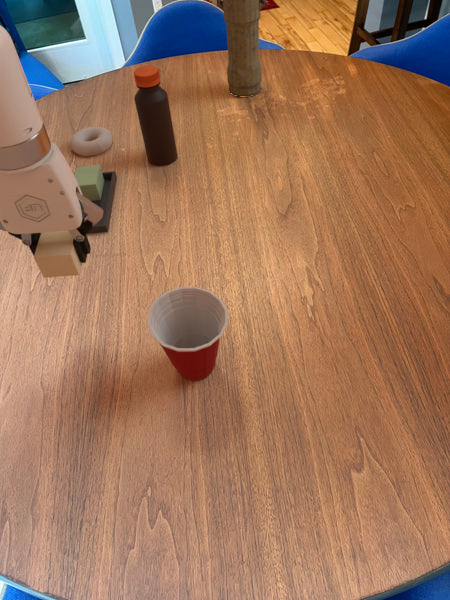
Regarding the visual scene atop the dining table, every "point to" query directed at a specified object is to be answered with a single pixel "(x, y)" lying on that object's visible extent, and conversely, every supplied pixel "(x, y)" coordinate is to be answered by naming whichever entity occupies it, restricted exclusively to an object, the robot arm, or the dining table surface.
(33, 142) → the robot arm
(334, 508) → the dining table surface
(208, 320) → the plastic cup
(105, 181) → the tray
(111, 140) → the donut
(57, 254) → the tan block
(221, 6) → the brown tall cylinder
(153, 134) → the bottle
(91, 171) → the sage block
